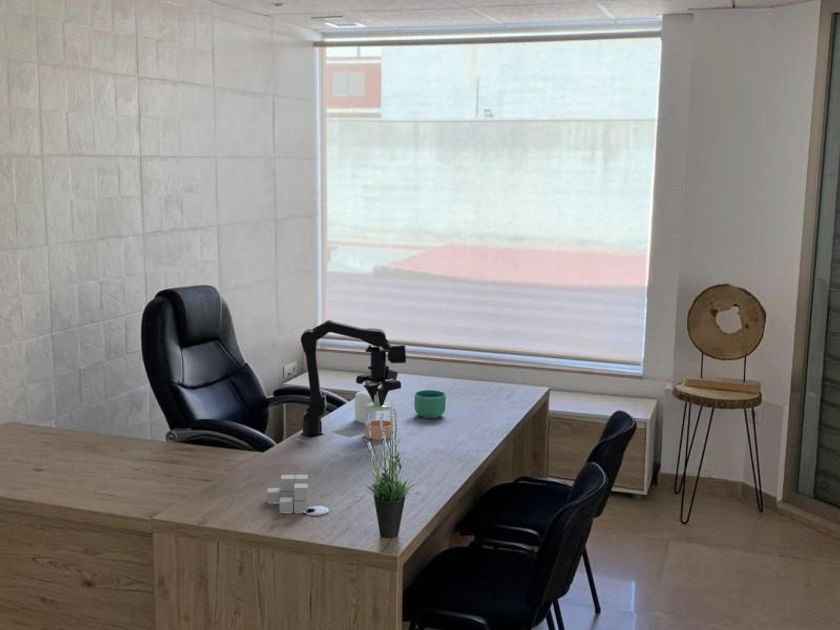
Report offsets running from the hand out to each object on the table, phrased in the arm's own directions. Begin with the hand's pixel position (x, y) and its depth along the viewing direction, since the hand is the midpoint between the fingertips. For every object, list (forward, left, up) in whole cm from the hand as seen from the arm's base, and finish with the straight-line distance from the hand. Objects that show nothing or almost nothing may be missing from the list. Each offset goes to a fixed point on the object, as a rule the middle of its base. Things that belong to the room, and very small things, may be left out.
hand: (378, 404), depth 352 cm
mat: (-5, +10, -12) cm, 16 cm away
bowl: (0, -1, -12) cm, 12 cm away
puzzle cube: (-71, -37, -12) cm, 81 cm away
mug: (+37, +8, -12) cm, 40 cm away
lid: (0, 0, -1) cm, 1 cm away
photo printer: (+9, +17, -12) cm, 23 cm away
